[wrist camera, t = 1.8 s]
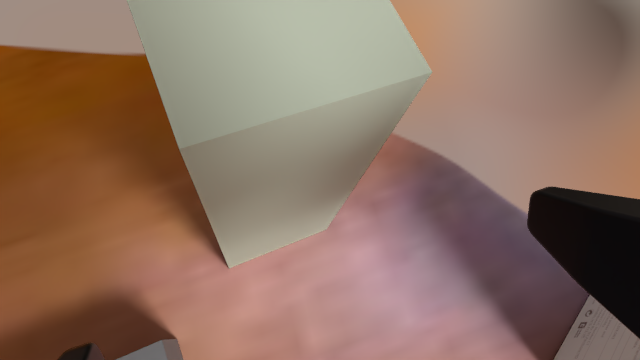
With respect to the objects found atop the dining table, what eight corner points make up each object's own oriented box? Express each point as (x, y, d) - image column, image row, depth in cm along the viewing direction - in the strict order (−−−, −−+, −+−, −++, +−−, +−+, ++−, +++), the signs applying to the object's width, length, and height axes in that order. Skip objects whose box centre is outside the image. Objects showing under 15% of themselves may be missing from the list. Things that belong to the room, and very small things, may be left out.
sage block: (326, 229, 20) (432, 71, 8) (228, 268, 19) (179, 149, 7) (288, 144, 21) (329, -101, 9) (195, 174, 20) (103, -67, 8)
